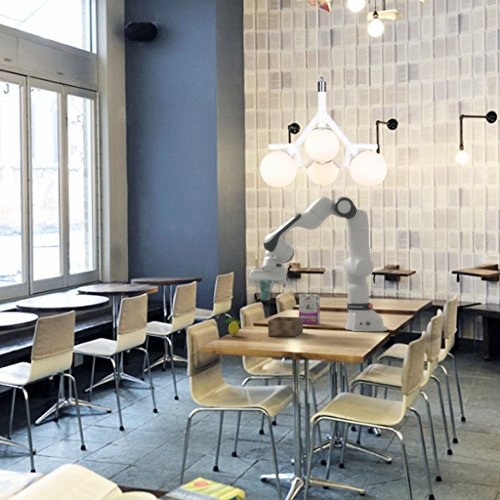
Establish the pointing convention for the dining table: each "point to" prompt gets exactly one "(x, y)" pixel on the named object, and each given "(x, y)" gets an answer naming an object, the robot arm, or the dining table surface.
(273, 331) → the walnut box
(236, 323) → the lemon
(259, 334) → the dining table surface
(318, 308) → the candy bar box
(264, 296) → the peg
